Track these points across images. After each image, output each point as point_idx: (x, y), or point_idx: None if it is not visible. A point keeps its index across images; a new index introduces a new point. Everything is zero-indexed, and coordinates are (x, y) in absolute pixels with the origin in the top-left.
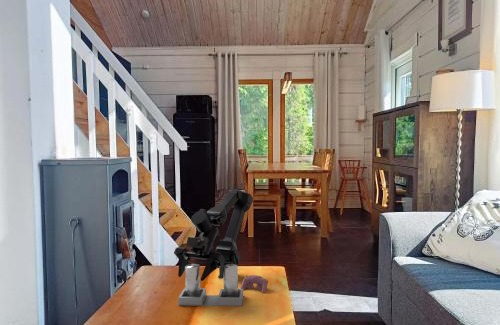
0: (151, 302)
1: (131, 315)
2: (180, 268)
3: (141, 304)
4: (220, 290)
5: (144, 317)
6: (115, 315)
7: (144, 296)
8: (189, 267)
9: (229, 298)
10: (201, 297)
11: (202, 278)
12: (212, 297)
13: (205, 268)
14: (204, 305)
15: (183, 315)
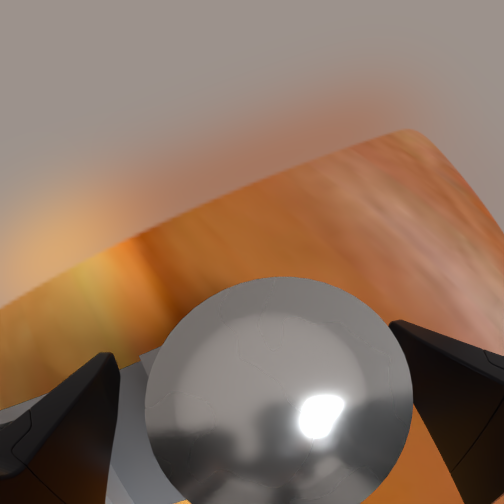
0: (419, 283)
1: (373, 172)
2: (447, 349)
3: (428, 249)
4: (108, 500)
5: (325, 177)
6: (406, 158)
7: (477, 308)
8: (278, 316)
9: (10, 407)
10: (145, 360)
11: (93, 364)
12: (164, 474)
13: (39, 428)
14: (136, 363)
15: (192, 255)
